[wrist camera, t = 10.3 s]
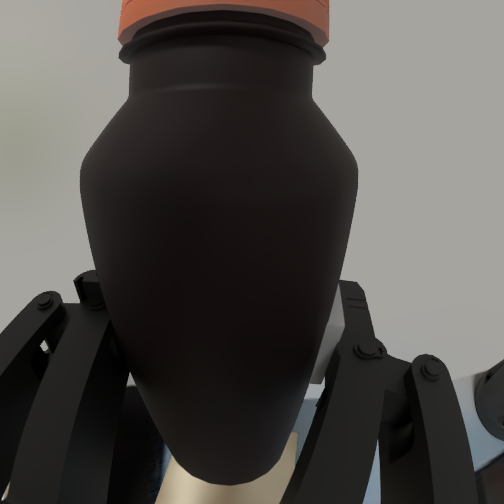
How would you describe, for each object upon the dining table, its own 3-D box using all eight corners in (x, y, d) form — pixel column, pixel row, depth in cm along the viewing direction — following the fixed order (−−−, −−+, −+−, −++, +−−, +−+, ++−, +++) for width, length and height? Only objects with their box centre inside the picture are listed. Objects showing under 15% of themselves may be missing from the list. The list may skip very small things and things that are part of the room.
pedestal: (287, 451, 26) (298, 432, 23) (275, 534, 16) (285, 533, 13) (193, 434, 27) (187, 413, 24) (167, 513, 18) (153, 507, 15)
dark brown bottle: (166, 486, 10) (37, -59, 1) (171, 391, 16) (132, 18, 7) (294, 481, 11) (429, -49, 2) (275, 388, 17) (317, 20, 8)
